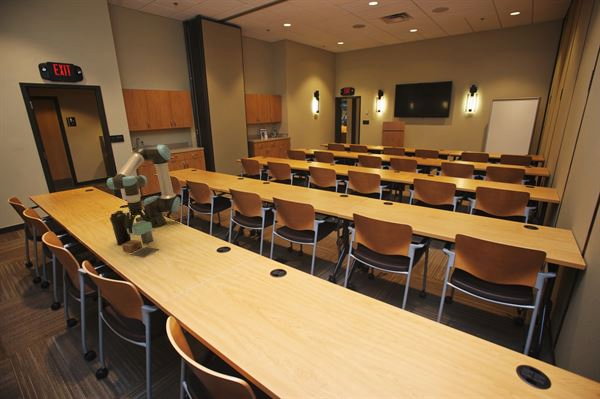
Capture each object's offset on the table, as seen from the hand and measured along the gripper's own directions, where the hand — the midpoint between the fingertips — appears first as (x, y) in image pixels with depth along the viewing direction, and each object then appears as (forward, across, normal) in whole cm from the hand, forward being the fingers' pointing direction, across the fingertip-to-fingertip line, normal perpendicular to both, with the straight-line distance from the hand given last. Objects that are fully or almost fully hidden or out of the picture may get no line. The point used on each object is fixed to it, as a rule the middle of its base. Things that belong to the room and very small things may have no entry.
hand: (140, 234), depth 188 cm
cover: (-2, 0, 0) cm, 2 cm away
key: (+4, -11, -7) cm, 14 cm away
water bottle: (+13, -6, -27) cm, 31 cm away
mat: (+13, 0, 0) cm, 13 cm away
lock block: (+13, -12, -11) cm, 21 cm away
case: (+13, 0, -11) cm, 17 cm away
